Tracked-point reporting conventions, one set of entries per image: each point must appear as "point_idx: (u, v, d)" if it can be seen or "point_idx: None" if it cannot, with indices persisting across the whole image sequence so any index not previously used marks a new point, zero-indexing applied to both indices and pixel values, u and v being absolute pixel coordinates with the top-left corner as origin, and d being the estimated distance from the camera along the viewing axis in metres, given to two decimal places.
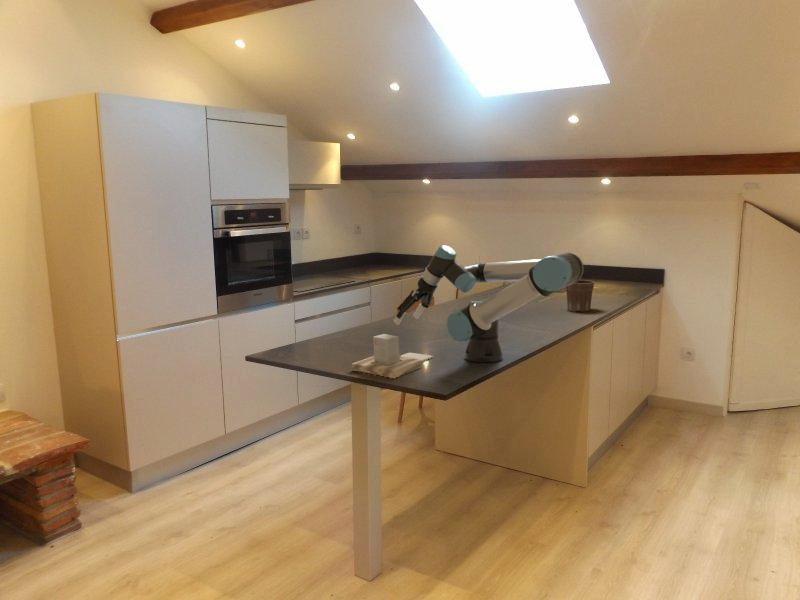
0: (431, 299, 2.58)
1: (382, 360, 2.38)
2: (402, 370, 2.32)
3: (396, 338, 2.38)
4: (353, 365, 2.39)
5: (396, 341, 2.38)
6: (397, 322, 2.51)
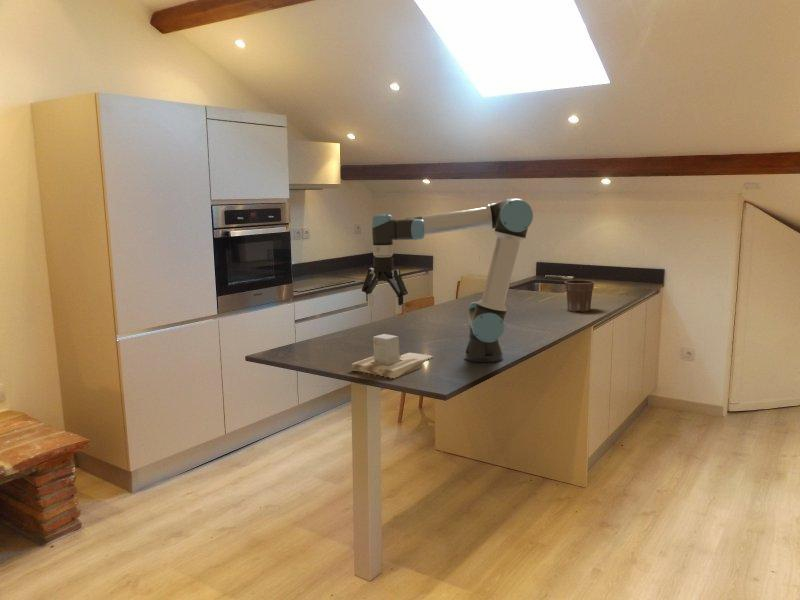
0: None
1: (382, 360, 2.38)
2: (402, 370, 2.32)
3: (396, 338, 2.38)
4: (353, 365, 2.39)
5: (396, 341, 2.38)
6: (400, 310, 2.34)
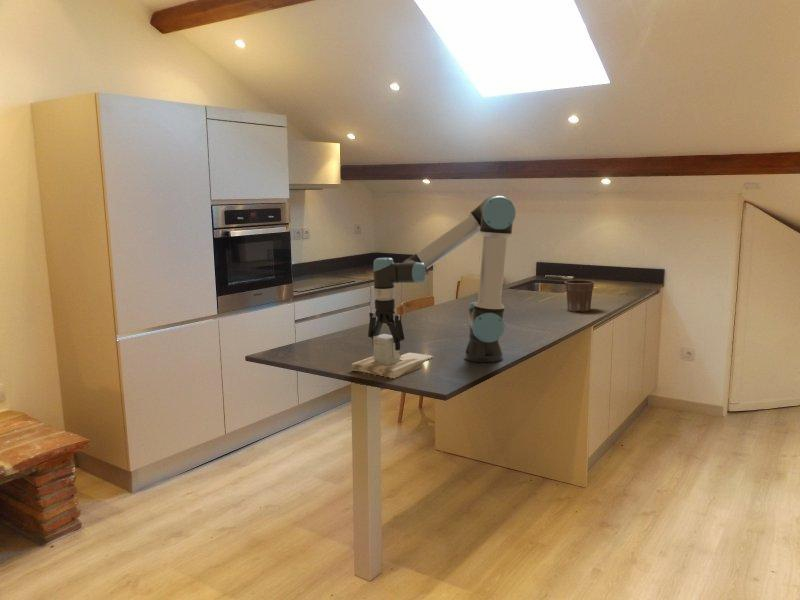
0: None
1: (382, 360, 2.38)
2: (402, 370, 2.32)
3: None
4: (353, 365, 2.39)
5: None
6: (397, 355, 2.38)
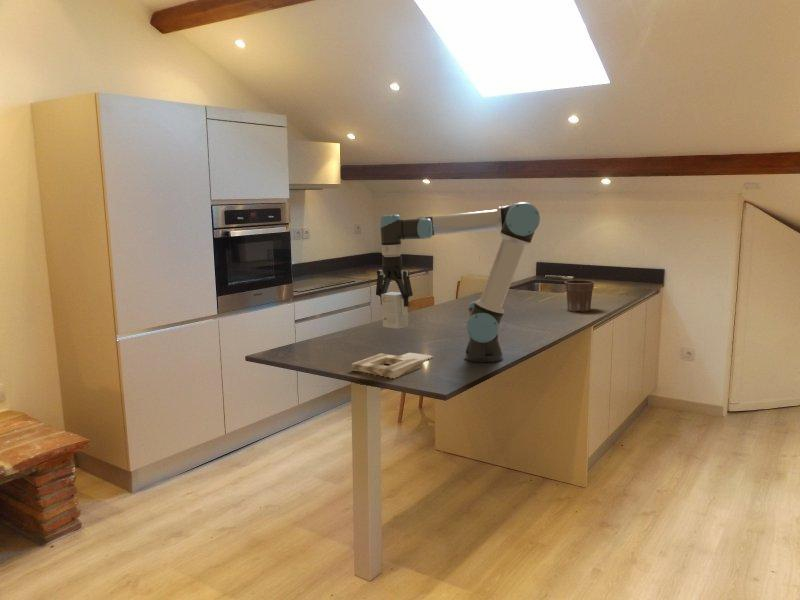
0: None
1: (391, 317, 2.39)
2: (402, 370, 2.32)
3: None
4: (353, 365, 2.39)
5: None
6: (406, 311, 2.39)
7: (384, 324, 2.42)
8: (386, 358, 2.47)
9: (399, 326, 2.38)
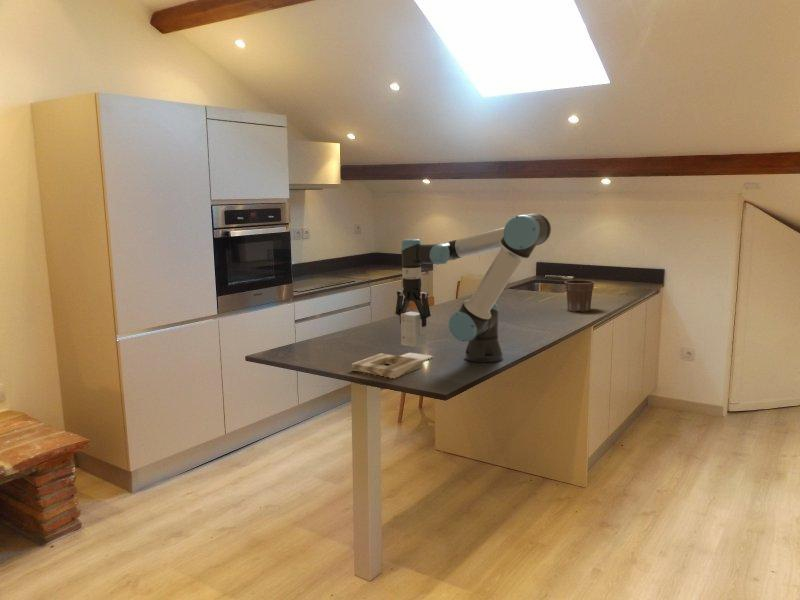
0: None
1: (409, 336, 2.51)
2: (402, 370, 2.32)
3: None
4: (353, 365, 2.39)
5: None
6: (424, 331, 2.51)
7: (403, 342, 2.54)
8: (386, 358, 2.47)
9: (417, 345, 2.50)
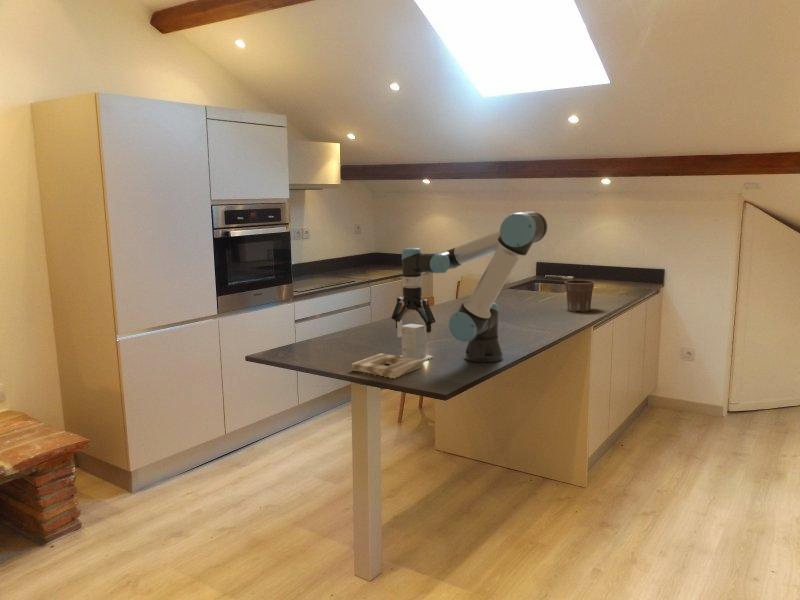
0: None
1: (410, 348, 2.52)
2: (402, 370, 2.32)
3: (423, 327, 2.52)
4: (353, 365, 2.39)
5: (423, 330, 2.52)
6: (428, 337, 2.50)
7: (403, 354, 2.55)
8: (386, 358, 2.47)
9: (418, 357, 2.51)
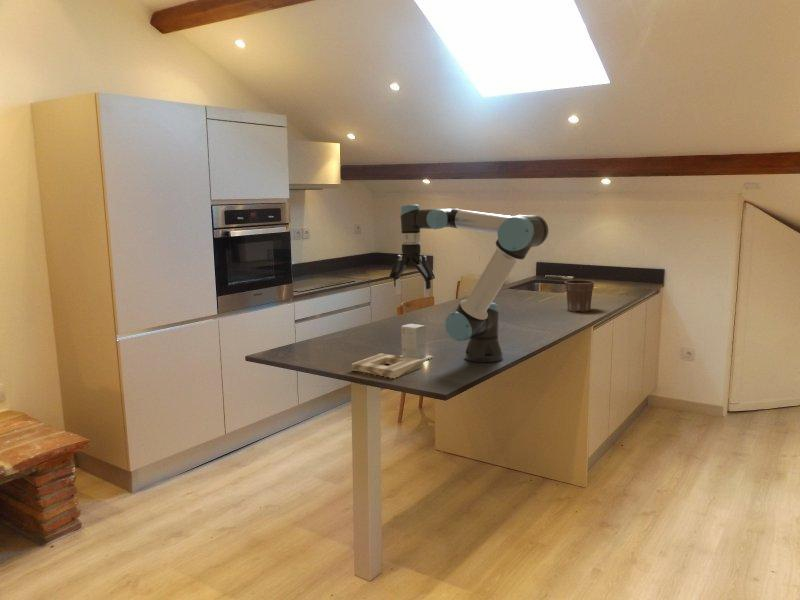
0: None
1: (410, 348, 2.52)
2: (402, 370, 2.32)
3: (423, 327, 2.52)
4: (353, 365, 2.39)
5: (423, 330, 2.52)
6: (428, 294, 2.51)
7: (403, 354, 2.55)
8: (386, 358, 2.47)
9: (418, 357, 2.51)
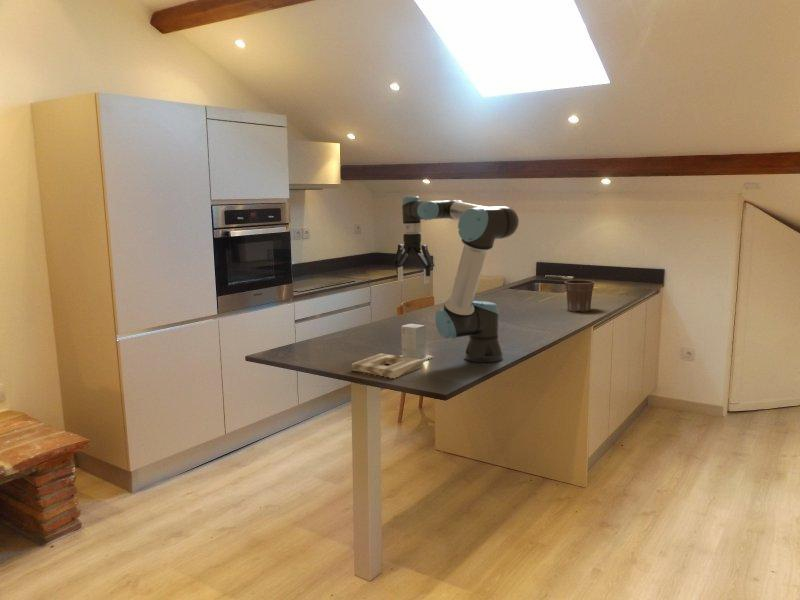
0: None
1: (410, 348, 2.52)
2: (402, 370, 2.32)
3: (423, 327, 2.52)
4: (353, 365, 2.39)
5: (423, 330, 2.52)
6: (428, 281, 2.65)
7: (403, 354, 2.55)
8: (386, 358, 2.47)
9: (418, 357, 2.51)
